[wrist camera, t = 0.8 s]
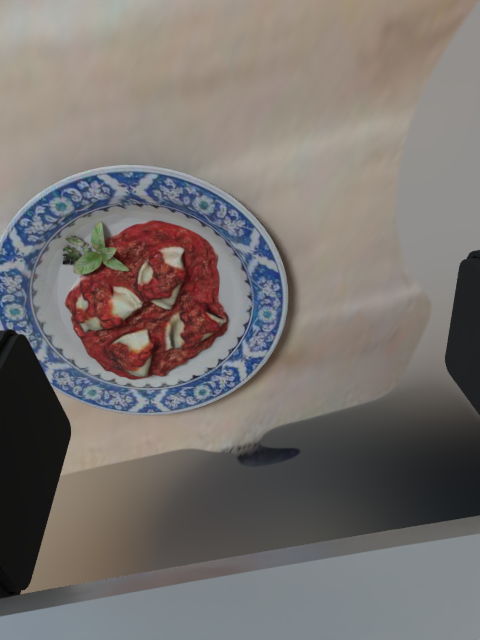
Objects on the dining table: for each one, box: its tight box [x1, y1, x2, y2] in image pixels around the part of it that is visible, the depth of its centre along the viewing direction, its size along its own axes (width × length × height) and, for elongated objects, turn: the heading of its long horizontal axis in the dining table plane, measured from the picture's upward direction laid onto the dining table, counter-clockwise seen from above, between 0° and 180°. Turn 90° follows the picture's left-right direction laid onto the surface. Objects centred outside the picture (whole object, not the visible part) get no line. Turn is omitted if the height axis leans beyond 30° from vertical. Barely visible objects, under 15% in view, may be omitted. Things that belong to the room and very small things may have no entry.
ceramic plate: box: [0, 165, 288, 415], centre depth 41 cm, size 26×26×3 cm
